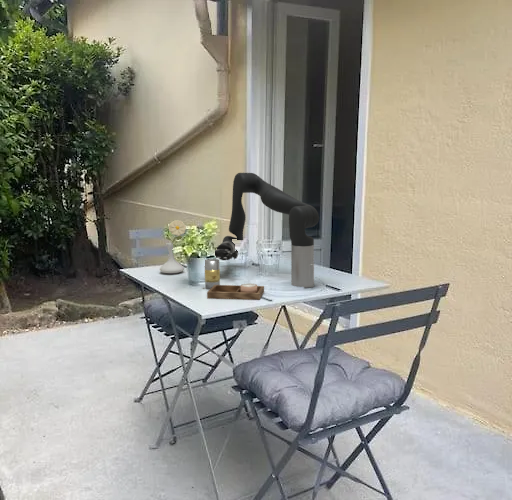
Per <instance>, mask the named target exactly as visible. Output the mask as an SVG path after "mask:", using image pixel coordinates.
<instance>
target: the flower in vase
mask: <svg viewBox="0 0 512 500" xmlns="http://www.w3.org/2000/svg"><path fill="white" fill-rule="evenodd" d="M186 229H187V225H185V223H184V222H183V220H180V219H179V220H178V219H175V220H173V221H171V222H170V224H169V225H168V230H169V232H170V234H172V235H174V236H175V237H174V239H175V240H177V241H178V240H179V239H181V238H182V237H183V236H182V235H184V234H185V232H186ZM165 238H166V239H167V240H169V241H171V242H166V243H165V245H166V247H167V251H168V259H167V261H165V263H163V264H162V265H161V266H160V268H159V271H160V272H161V273H162V274H179V273H181V272H183V271H185V268H184V266H183V265H182V264H181V263H179V262H178V261H177V260H176V259H175V254H174V255H173V253H172V249H173V243H174V242H173V241H172V240H173V239H172V240H171V238H169V237H167V236H165ZM172 242H173V243H172Z"/></svg>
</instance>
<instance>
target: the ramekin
mask: <svg viewBox="0 0 512 500" xmlns="http://www.w3.org/2000/svg"><path fill="white" fill-rule="evenodd" d="M240 286H241V292H242V293H257V286H258V284H256V283H251V282H250V283H241V284H240Z"/></svg>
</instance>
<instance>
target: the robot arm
mask: <svg viewBox="0 0 512 500" xmlns="http://www.w3.org/2000/svg"><path fill="white" fill-rule="evenodd" d="M232 183H233V184H232V198H231V199H232V203H231V215H230V220H229V225H228V226H229V227H228V232H229V233H230V234H233V236H230V235H227V236H224V237H223V238H222V242H221V243H219V244H218V246H217V247H216V248H217V250H216V249H214V250H215V256H216V258H215V259H218V260H219V261H229V260H232V259H238V256H239V253H238V251H237V250H236V251H235V244H234V243H233V242H232V239H237V240H244V229H245V224H246V212H245V210H244V207H243V201H242V199H243V194H244V193H246V194H248V193H249V194H250V193H251V194H256V195H258V196H259V197H260V200H261V203H262V204H263V205H265V207H267V208H268V209H271V210H272V211H274V212H276V213H280V214H284V215H288V229H289V238H290V242H291V245H290V247H291V248H290V249H291V250H290V254H291V256H290V257H291V262H290V263H291V264H290V265H291V267H290V268H291V269H290V270H291V271H290V273H291V274H290V275H291V276H290V277H291V280H290V281H291V282H290V283H291V286H294V287H297V288H304V289H307V288H314V285H315V262H314V261H315V260H314V255H315V254H314V253H315V249H314V248H315V247H314V246H315V240H314V238H313V237H312V236H309V235H308V234H307V233H306V229H309V228H313V227H315V226H316V225H317V224H318V223H319V220H320V216H319V212H318V211H317V208H315V207H314V206H312V205H310V204H309V203H305V202H303V201H301V200H298V199H297V198H294V197H293V196H291V195H289V194H288V193H286V192H284V191H283V190H281V189H279V188H278V187H275V186H274V185H272V184H271V183H268V182H266V181H265V180H264V179H263V178H261V177H260V176H259V175H258V174H255V173H254V172H238V173H236V174H235V176H234V179H233V182H232ZM234 236H235V237H234Z"/></svg>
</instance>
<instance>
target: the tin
mask: <svg viewBox="0 0 512 500" xmlns="http://www.w3.org/2000/svg"><path fill="white" fill-rule="evenodd" d="M220 270H221V268H220V259H219V258H210V259H207V258H206V259H205V266H204V287H205V288H204V289H205V290H208V291H209V290H210V289H211V288H212V287H213V286H214V285H221V271H220Z"/></svg>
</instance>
